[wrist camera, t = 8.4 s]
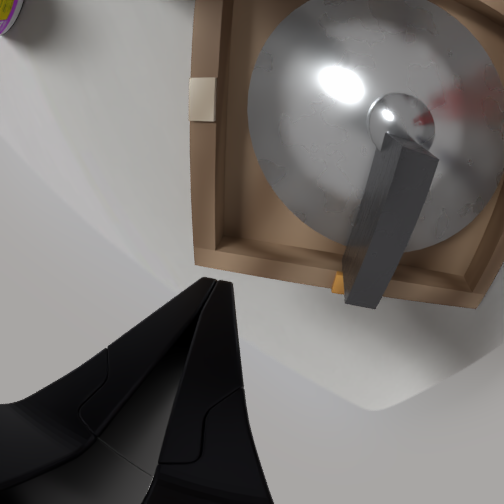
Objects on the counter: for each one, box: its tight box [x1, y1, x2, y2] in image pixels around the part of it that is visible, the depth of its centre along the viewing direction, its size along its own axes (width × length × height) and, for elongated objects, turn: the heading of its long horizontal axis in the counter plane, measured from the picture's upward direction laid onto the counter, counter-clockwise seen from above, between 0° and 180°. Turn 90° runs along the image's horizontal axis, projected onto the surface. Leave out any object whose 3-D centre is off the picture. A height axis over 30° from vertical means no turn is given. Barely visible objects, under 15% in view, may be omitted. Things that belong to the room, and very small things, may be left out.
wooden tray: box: [189, 0, 504, 309], centre depth 13 cm, size 22×22×4 cm
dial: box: [247, 0, 504, 309], centre depth 12 cm, size 17×16×5 cm
